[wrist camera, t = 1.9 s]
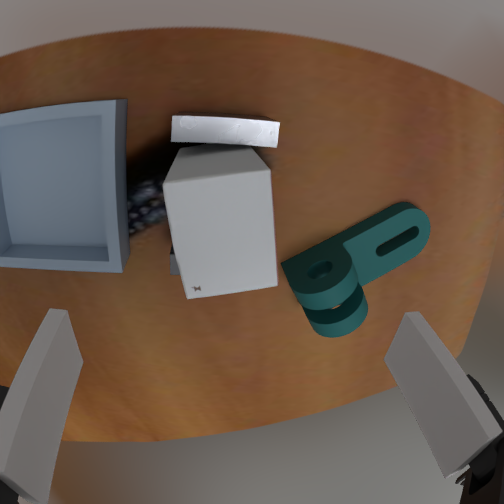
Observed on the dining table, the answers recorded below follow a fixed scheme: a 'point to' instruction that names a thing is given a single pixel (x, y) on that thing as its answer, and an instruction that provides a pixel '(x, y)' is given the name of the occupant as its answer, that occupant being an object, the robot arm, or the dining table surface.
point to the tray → (64, 187)
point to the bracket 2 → (354, 266)
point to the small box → (222, 219)
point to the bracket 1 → (221, 136)
